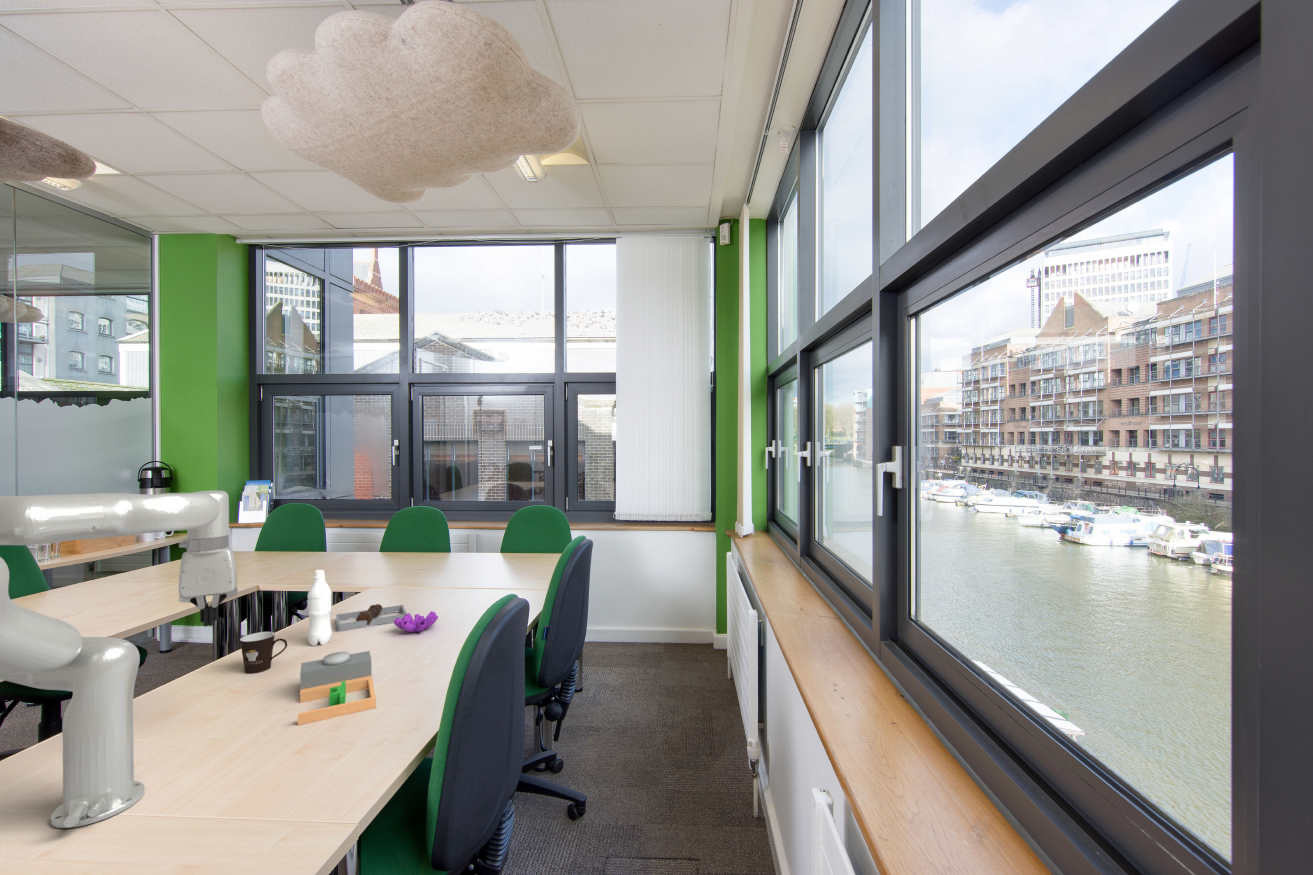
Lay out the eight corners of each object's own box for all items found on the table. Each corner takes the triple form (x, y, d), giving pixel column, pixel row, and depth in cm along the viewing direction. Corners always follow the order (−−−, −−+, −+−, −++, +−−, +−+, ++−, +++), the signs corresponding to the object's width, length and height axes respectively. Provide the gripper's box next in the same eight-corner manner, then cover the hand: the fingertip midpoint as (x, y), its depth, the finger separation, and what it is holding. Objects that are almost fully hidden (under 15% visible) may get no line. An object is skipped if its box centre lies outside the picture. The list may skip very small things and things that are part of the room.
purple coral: (437, 639, 204) (435, 623, 199) (392, 644, 200) (389, 627, 195) (440, 613, 213) (438, 597, 208) (397, 617, 209) (394, 601, 204)
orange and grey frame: (375, 707, 145) (375, 674, 145) (297, 725, 136) (297, 690, 136) (369, 674, 166) (369, 645, 166) (301, 687, 157) (301, 657, 157)
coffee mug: (233, 673, 168) (232, 640, 168) (259, 662, 176) (259, 630, 176) (264, 677, 165) (264, 643, 165) (289, 665, 173) (289, 633, 174)
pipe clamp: (330, 699, 150) (330, 683, 150) (345, 696, 152) (345, 680, 152) (328, 715, 141) (328, 698, 141) (344, 712, 143) (344, 695, 143)
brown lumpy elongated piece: (380, 616, 225) (365, 629, 210) (368, 611, 224) (353, 623, 209) (388, 603, 225) (374, 615, 210) (376, 598, 224) (361, 609, 209)
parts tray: (407, 620, 217) (407, 613, 217) (337, 631, 205) (336, 624, 205) (402, 610, 229) (402, 604, 229) (336, 620, 217) (336, 614, 217)
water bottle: (337, 640, 195) (336, 568, 196) (319, 647, 188) (318, 573, 189) (320, 638, 197) (319, 567, 198) (302, 646, 190) (302, 572, 191)
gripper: (162, 550, 122) (162, 635, 122) (246, 543, 130) (247, 623, 130) (170, 545, 129) (171, 625, 128) (250, 538, 136) (251, 614, 136)
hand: (209, 624), depth 129 cm, fingers closed
